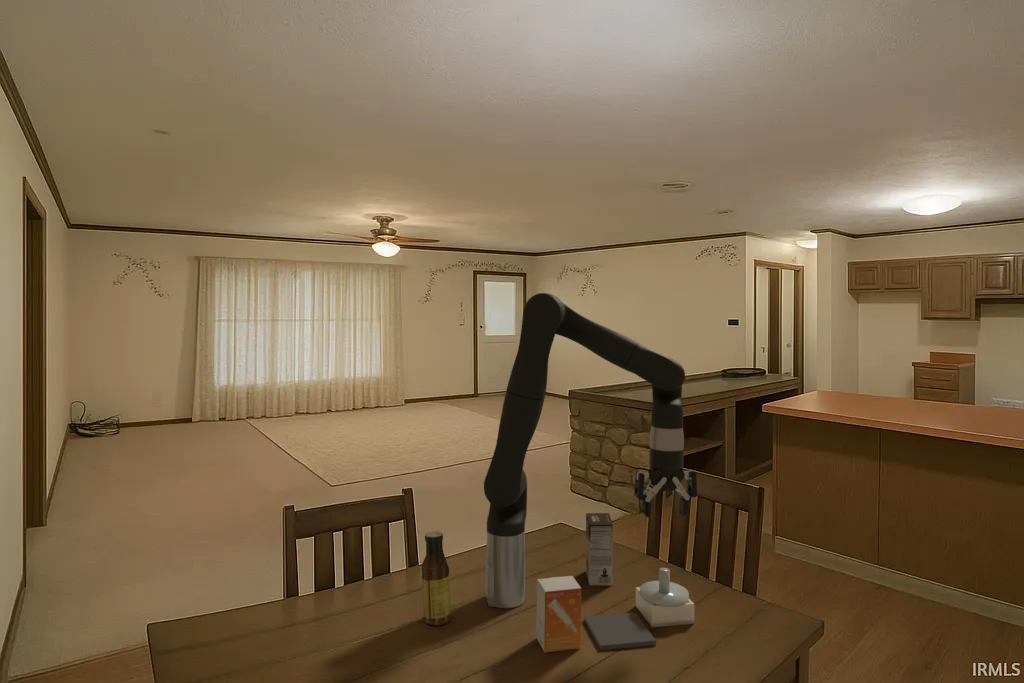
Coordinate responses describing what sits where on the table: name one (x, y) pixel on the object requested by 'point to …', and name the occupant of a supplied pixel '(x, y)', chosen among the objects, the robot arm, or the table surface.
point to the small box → (558, 613)
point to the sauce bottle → (435, 581)
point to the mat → (619, 631)
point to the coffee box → (599, 549)
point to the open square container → (665, 612)
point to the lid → (664, 591)
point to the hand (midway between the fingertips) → (665, 515)
